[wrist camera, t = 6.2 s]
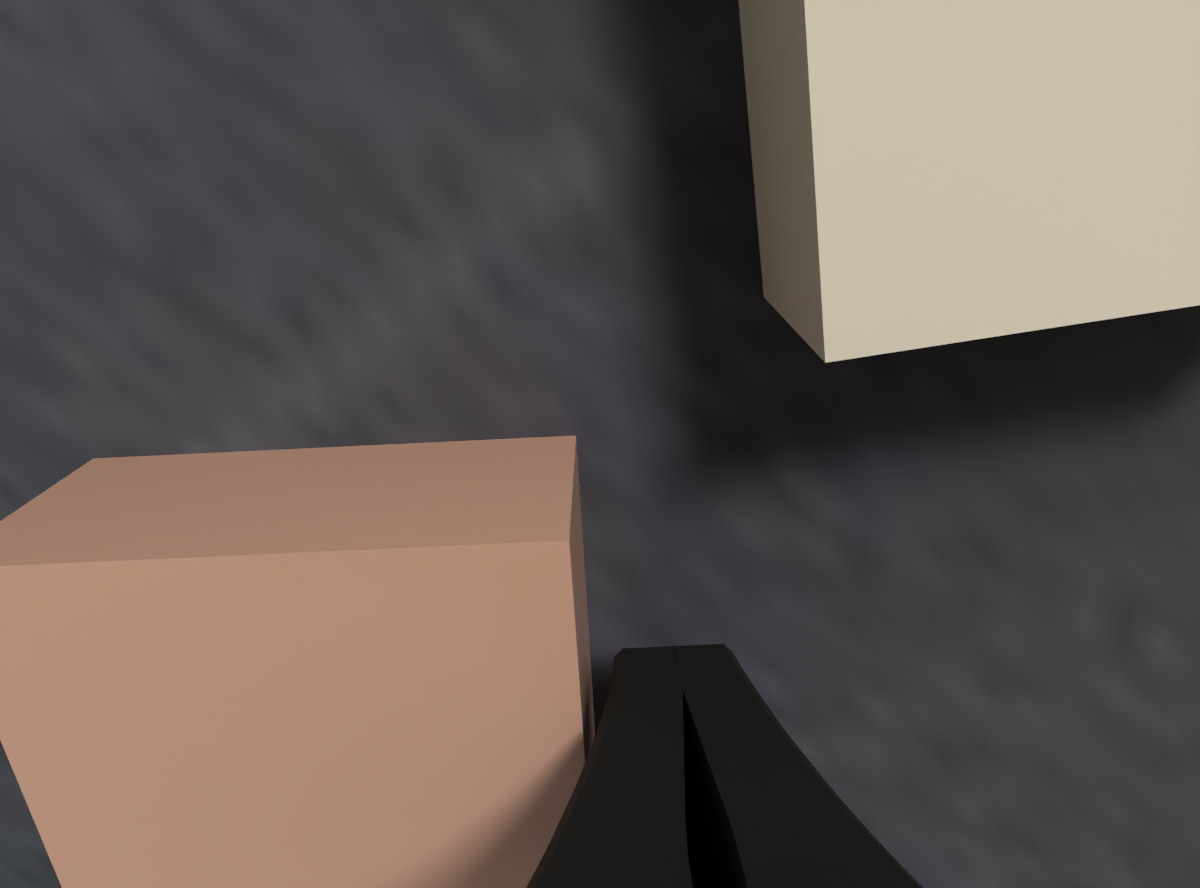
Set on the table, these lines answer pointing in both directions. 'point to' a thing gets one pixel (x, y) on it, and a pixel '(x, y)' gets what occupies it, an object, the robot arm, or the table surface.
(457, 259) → the table surface
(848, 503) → the table surface
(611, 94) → the table surface
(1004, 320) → the sand tile
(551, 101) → the table surface
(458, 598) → the terracotta tile
